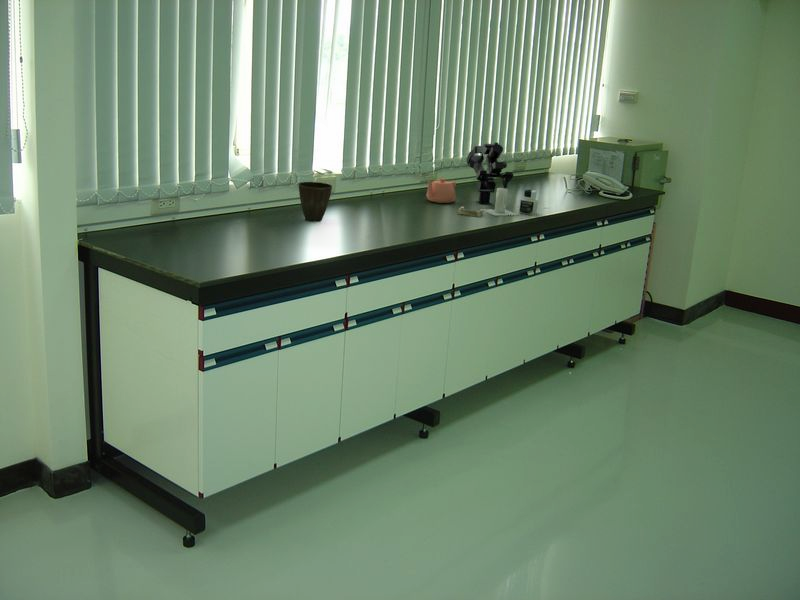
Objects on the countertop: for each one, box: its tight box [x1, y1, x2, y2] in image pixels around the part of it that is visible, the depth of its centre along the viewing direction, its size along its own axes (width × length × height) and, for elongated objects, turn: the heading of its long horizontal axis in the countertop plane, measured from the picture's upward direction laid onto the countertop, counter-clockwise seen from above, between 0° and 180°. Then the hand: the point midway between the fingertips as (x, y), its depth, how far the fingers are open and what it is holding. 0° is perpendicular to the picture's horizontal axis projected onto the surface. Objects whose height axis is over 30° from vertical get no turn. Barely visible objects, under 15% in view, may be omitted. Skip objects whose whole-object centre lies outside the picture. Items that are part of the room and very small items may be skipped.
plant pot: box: [298, 181, 333, 222], centre depth 380 cm, size 15×15×16 cm
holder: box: [457, 206, 484, 217], centre depth 423 cm, size 8×11×2 cm
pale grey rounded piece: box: [494, 187, 509, 213], centre depth 429 cm, size 8×5×12 cm
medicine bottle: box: [518, 189, 539, 216], centre depth 436 cm, size 7×7×12 cm
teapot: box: [426, 177, 457, 204], centre depth 449 cm, size 22×15×12 cm
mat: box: [482, 208, 519, 217], centre depth 432 cm, size 14×14×1 cm
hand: (497, 189), depth 436 cm, fingers open, 9 cm apart
